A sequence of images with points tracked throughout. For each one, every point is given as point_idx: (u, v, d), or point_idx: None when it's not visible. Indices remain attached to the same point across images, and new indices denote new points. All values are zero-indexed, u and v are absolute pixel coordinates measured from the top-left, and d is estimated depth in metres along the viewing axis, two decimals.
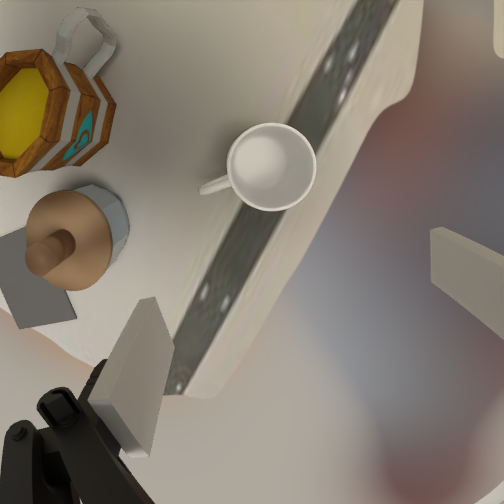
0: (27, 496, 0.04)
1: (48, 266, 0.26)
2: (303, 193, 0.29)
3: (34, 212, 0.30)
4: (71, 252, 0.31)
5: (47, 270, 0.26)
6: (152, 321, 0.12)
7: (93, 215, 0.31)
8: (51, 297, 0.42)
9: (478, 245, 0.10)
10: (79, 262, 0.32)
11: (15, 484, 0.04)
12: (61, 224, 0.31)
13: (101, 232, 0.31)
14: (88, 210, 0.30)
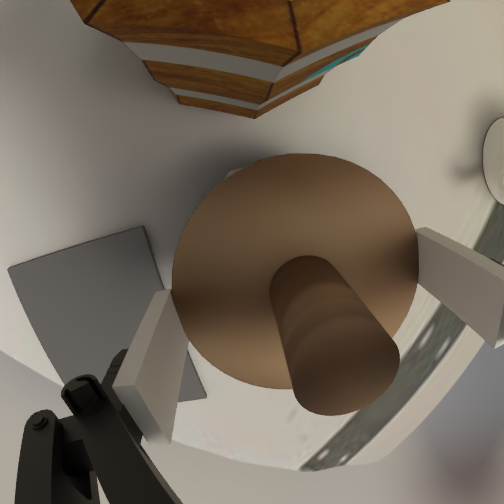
0: (45, 487, 0.04)
1: (386, 385, 0.08)
2: None
3: (216, 205, 0.13)
4: None
5: (376, 395, 0.09)
6: (169, 312, 0.13)
7: (400, 225, 0.13)
8: None
9: (459, 245, 0.11)
10: None
11: (33, 475, 0.05)
12: (307, 243, 0.13)
13: (408, 264, 0.14)
14: (391, 212, 0.13)
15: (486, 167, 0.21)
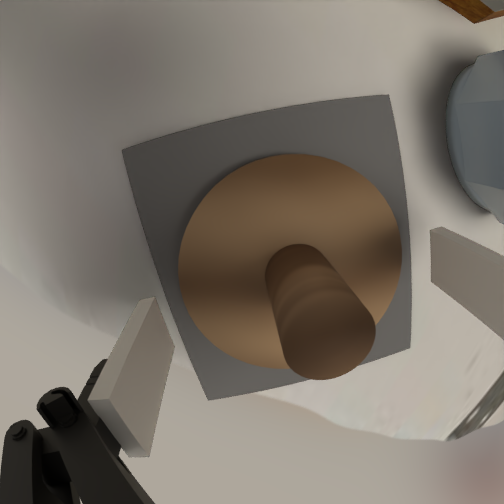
0: (27, 496, 0.04)
1: (365, 352, 0.10)
2: None
3: (218, 199, 0.14)
4: None
5: (356, 362, 0.10)
6: (152, 321, 0.12)
7: (382, 217, 0.15)
8: None
9: (478, 245, 0.10)
10: None
11: (15, 484, 0.04)
12: (298, 232, 0.15)
13: (391, 253, 0.16)
14: (374, 205, 0.15)
15: None
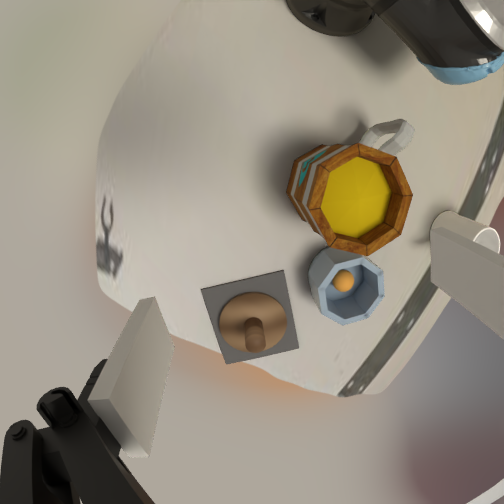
0: (27, 496, 0.04)
1: (264, 347, 0.49)
2: None
3: (231, 306, 0.53)
4: None
5: (262, 349, 0.49)
6: (152, 321, 0.12)
7: (279, 309, 0.53)
8: None
9: (478, 245, 0.10)
10: None
11: (15, 484, 0.04)
12: (253, 314, 0.53)
13: (283, 319, 0.54)
14: (276, 306, 0.53)
15: None
